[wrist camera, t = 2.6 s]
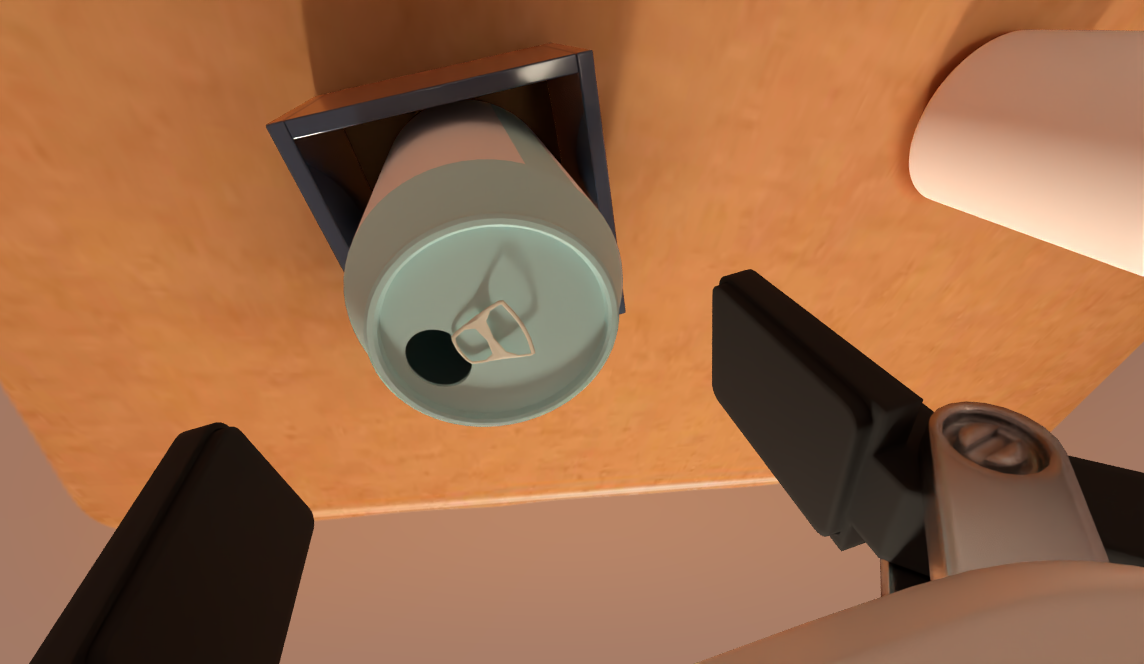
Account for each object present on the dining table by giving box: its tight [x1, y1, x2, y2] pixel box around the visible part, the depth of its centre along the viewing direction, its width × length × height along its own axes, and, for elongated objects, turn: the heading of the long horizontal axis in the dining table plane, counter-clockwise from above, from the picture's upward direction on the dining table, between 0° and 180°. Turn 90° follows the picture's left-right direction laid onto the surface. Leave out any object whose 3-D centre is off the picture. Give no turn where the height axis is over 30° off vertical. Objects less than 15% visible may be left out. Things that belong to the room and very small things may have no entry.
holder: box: [266, 43, 626, 314], centre depth 18 cm, size 9×9×6 cm
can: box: [344, 100, 623, 427], centre depth 15 cm, size 7×7×12 cm
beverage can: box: [909, 30, 1144, 277], centre depth 19 cm, size 8×8×12 cm
